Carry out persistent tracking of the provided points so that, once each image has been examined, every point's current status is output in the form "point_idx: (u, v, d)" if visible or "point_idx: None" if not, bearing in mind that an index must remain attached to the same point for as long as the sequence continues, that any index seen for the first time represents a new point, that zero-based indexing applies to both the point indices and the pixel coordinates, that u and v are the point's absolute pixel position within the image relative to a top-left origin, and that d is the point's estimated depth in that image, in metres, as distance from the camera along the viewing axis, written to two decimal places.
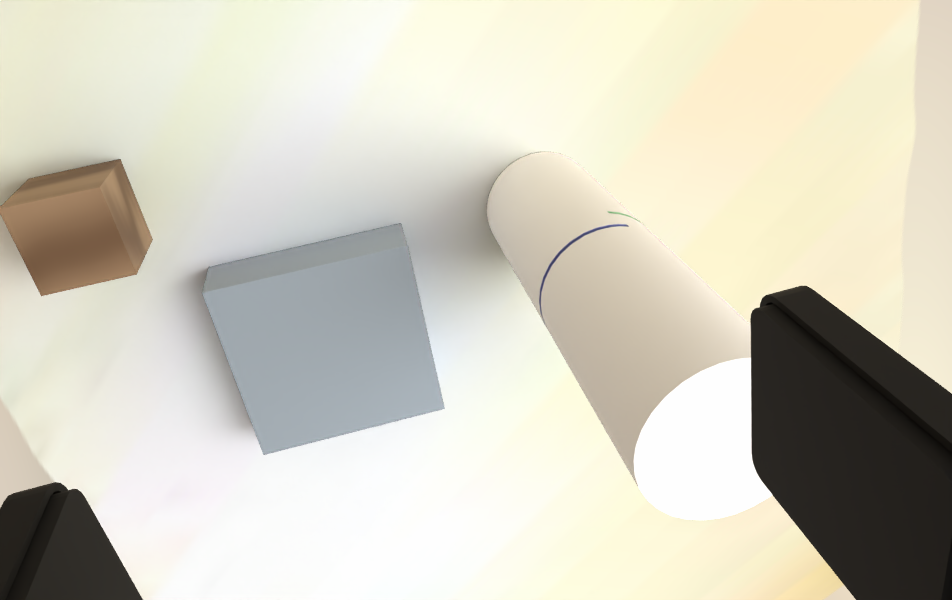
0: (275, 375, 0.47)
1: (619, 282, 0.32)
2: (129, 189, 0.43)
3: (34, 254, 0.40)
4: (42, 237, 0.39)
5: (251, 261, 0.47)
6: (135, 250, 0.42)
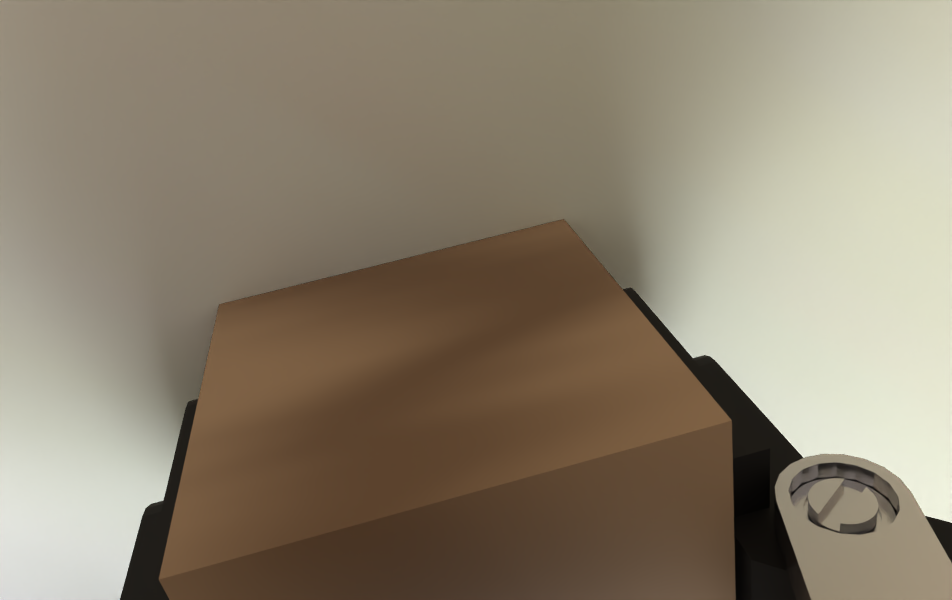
0: None
1: None
2: None
3: (447, 556, 0.07)
4: (542, 586, 0.07)
5: None
6: None
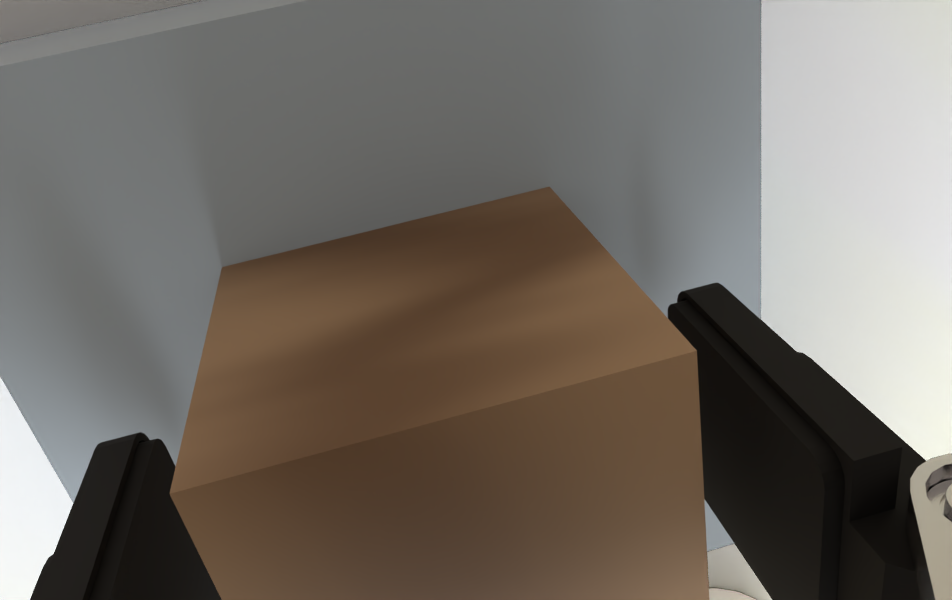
0: (338, 178, 0.11)
1: None
2: None
3: (435, 477, 0.07)
4: (524, 509, 0.08)
5: None
6: None
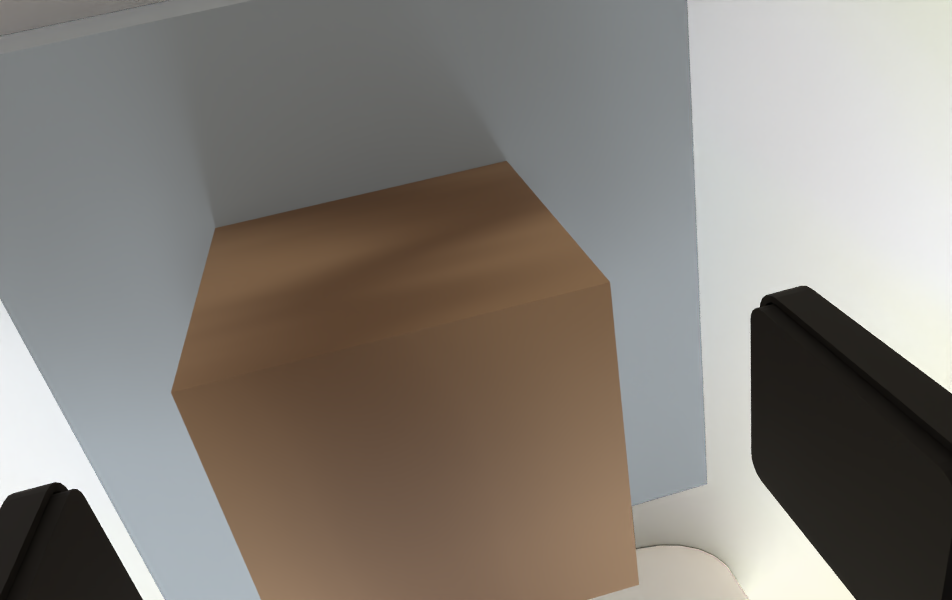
0: (315, 150, 0.12)
1: None
2: None
3: (392, 386, 0.09)
4: (468, 417, 0.09)
5: None
6: None
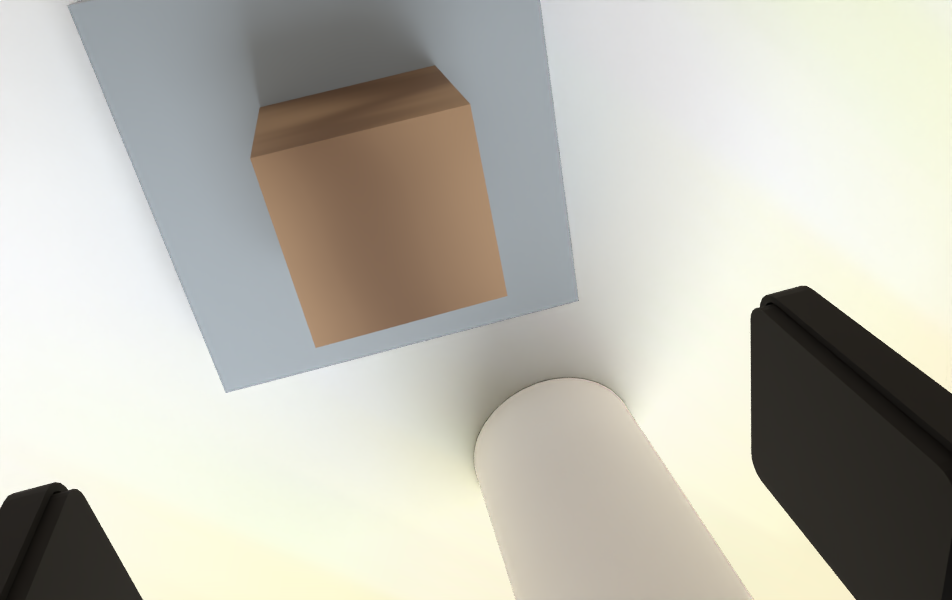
0: (312, 53, 0.21)
1: None
2: None
3: (360, 160, 0.17)
4: (401, 180, 0.18)
5: None
6: None
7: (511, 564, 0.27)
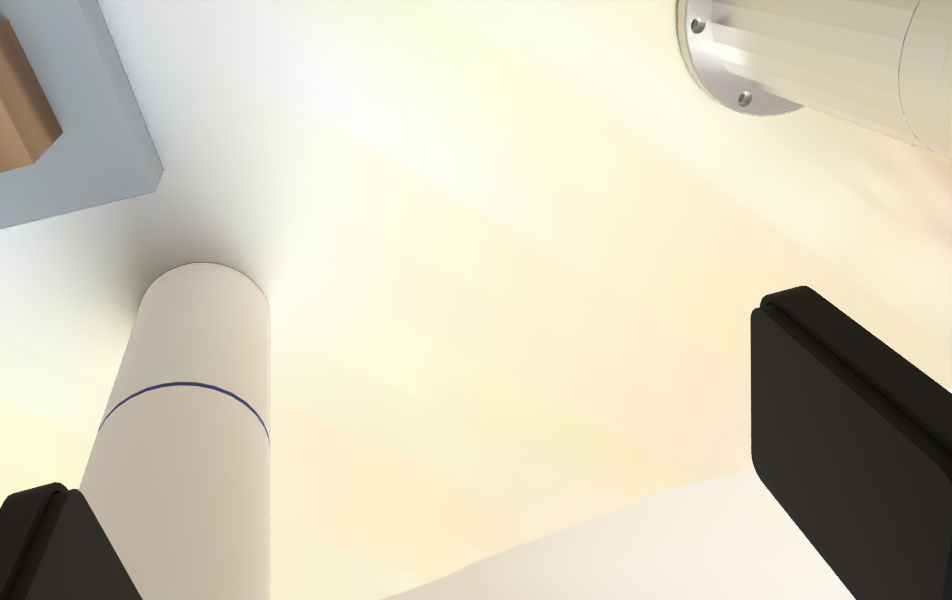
0: None
1: (250, 488, 0.29)
2: None
3: None
4: None
5: None
6: None
7: None
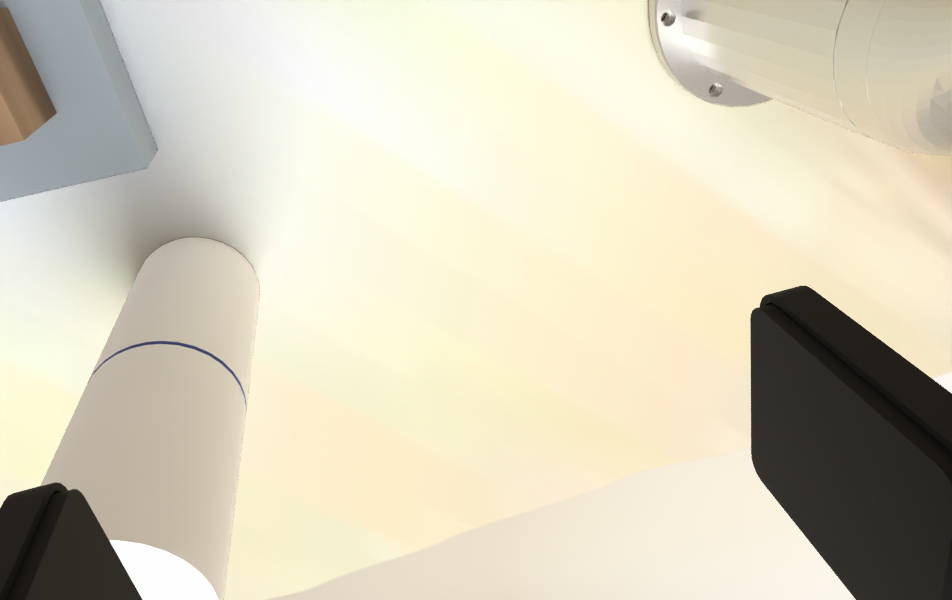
0: None
1: (219, 436, 0.31)
2: None
3: None
4: None
5: None
6: None
7: None
